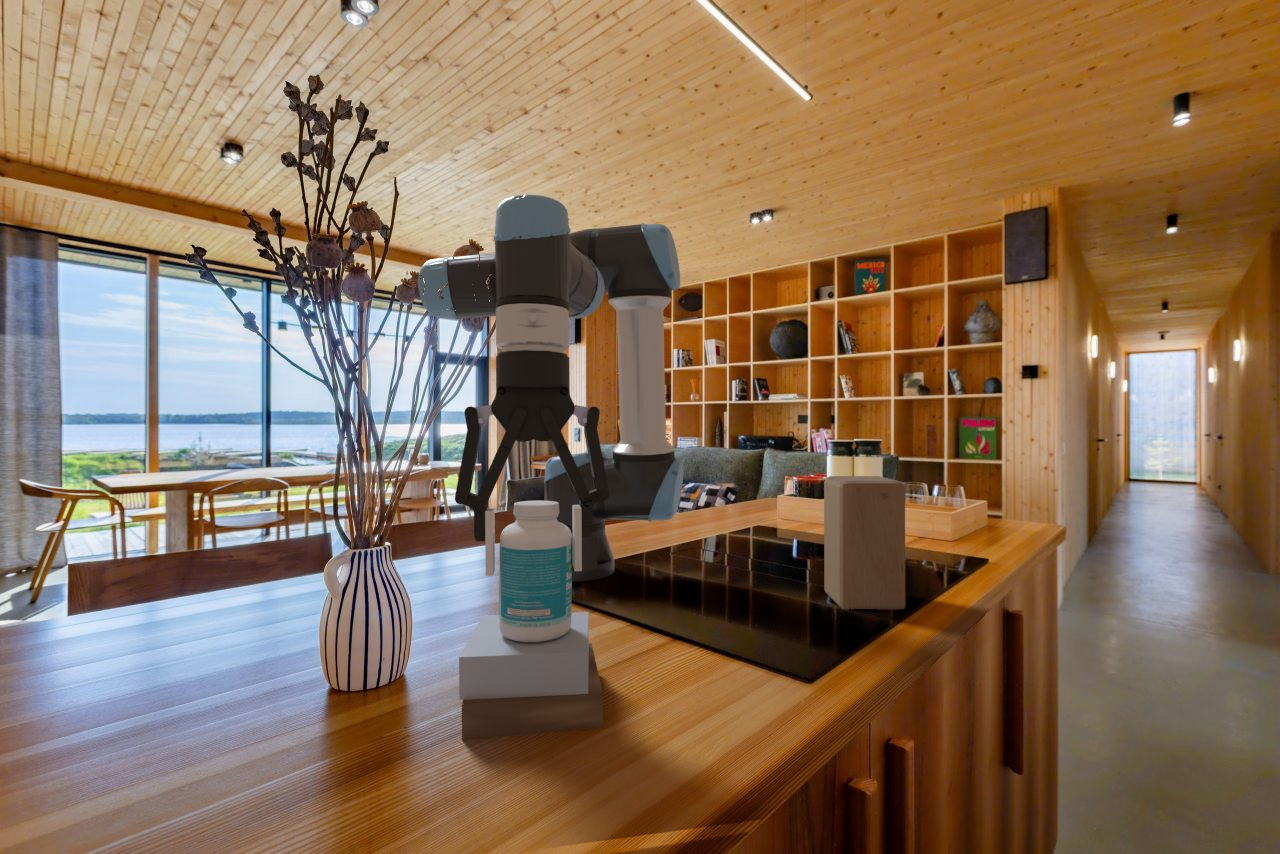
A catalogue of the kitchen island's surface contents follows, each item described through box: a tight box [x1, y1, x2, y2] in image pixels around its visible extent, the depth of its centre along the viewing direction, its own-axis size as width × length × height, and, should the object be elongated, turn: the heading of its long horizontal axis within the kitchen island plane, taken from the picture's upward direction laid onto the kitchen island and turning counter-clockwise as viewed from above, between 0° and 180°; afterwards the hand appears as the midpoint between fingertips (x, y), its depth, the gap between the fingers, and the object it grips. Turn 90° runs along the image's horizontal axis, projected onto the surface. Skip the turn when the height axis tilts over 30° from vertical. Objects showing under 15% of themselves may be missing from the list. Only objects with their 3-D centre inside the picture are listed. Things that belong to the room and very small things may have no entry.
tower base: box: [461, 642, 604, 741], centre depth 61 cm, size 13×13×4 cm
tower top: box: [458, 611, 590, 701], centre depth 61 cm, size 12×12×4 cm
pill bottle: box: [498, 500, 573, 642], centre depth 61 cm, size 8×7×14 cm
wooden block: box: [823, 475, 906, 611], centre depth 94 cm, size 10×10×20 cm
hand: (534, 569), depth 61 cm, fingers open, 8 cm apart
